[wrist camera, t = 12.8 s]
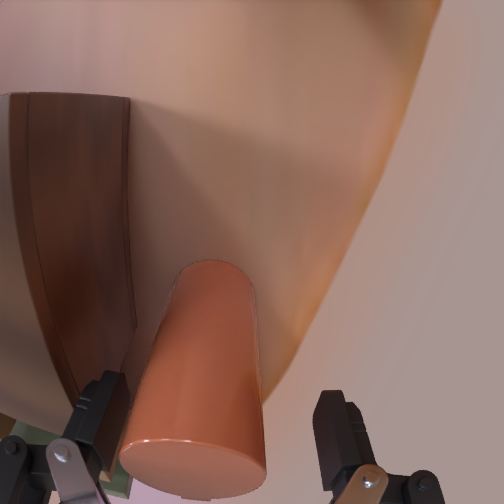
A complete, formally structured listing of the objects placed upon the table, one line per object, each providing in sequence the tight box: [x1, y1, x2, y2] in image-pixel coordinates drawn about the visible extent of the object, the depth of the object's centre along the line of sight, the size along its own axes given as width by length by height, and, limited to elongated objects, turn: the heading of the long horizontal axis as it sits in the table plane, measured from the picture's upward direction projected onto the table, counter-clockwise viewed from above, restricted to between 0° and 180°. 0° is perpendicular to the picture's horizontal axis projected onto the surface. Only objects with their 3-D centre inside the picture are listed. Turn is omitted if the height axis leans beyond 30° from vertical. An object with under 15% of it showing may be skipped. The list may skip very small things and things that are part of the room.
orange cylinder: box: [119, 260, 267, 501], centre depth 13 cm, size 5×6×11 cm
